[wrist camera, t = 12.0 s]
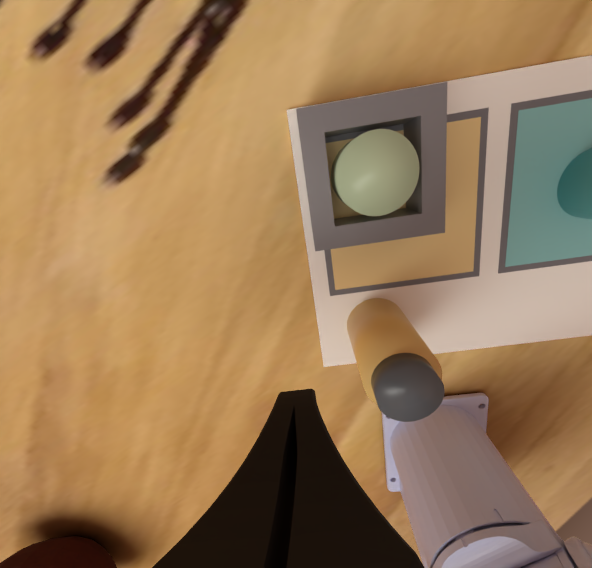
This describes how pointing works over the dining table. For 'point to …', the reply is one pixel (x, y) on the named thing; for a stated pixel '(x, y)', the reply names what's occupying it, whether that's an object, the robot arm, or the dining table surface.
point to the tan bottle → (394, 361)
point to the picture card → (477, 223)
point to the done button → (375, 172)
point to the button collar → (366, 116)
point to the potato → (61, 555)
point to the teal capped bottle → (577, 186)
